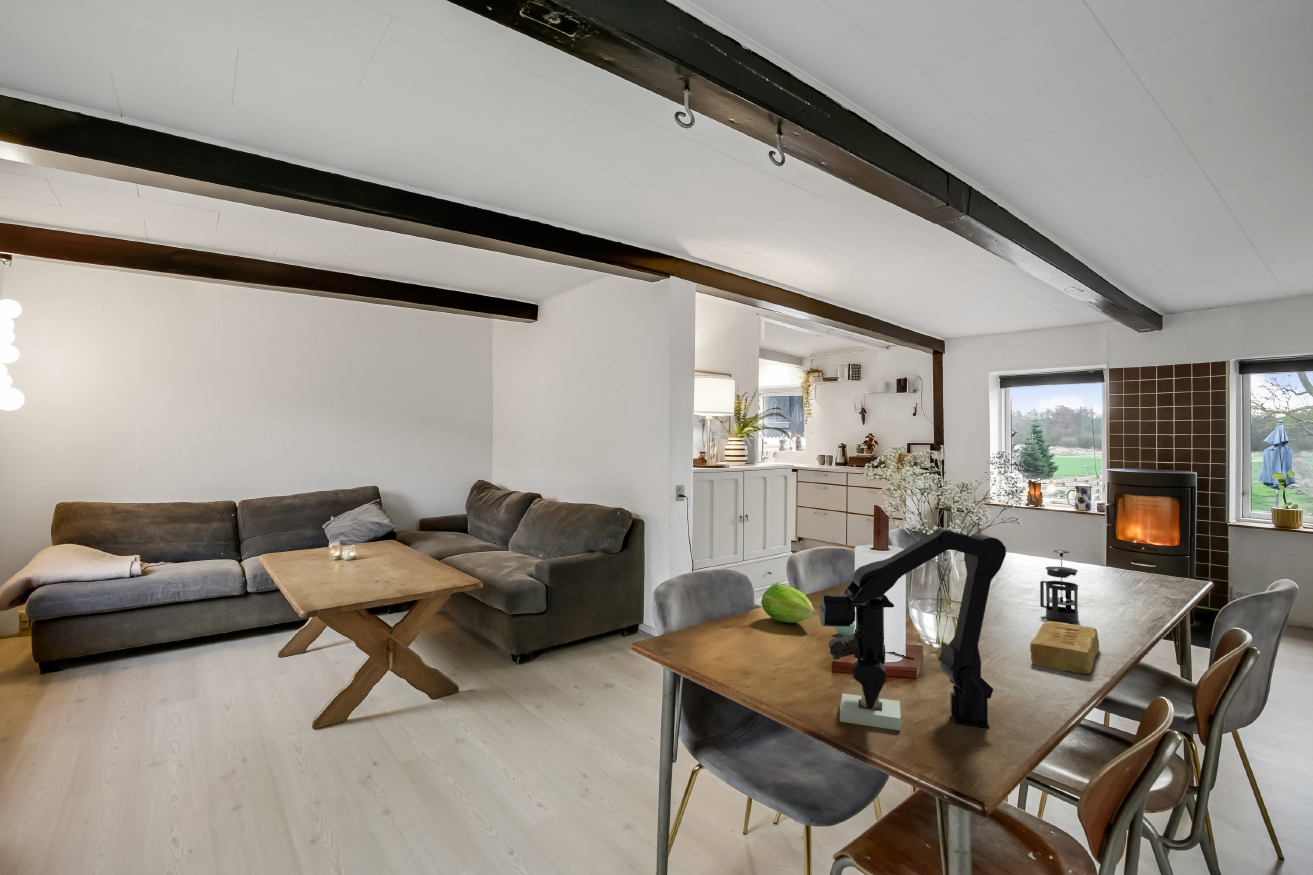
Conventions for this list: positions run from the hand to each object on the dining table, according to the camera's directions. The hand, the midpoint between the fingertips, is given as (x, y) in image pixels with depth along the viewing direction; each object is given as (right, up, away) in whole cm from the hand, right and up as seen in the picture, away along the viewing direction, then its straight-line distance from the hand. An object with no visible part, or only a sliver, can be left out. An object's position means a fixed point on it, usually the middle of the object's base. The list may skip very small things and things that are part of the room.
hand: (870, 699), depth 132 cm
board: (0, -4, 0) cm, 4 cm away
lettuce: (-2, -5, +68) cm, 68 cm away
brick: (+67, -5, +37) cm, 77 cm away
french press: (+89, -5, +73) cm, 115 cm away
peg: (0, -4, 0) cm, 4 cm away
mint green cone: (+18, -5, +47) cm, 50 cm away
